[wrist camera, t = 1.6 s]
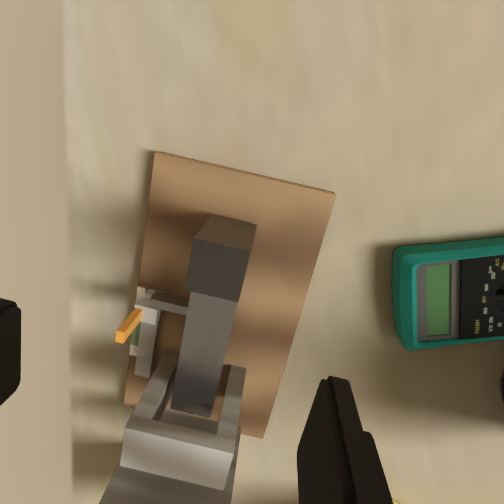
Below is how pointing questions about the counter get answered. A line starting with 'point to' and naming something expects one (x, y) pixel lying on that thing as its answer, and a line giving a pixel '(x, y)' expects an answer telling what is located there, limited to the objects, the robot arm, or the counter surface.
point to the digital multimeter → (448, 293)
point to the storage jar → (502, 386)
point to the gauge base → (241, 337)
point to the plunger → (208, 310)
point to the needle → (137, 319)
